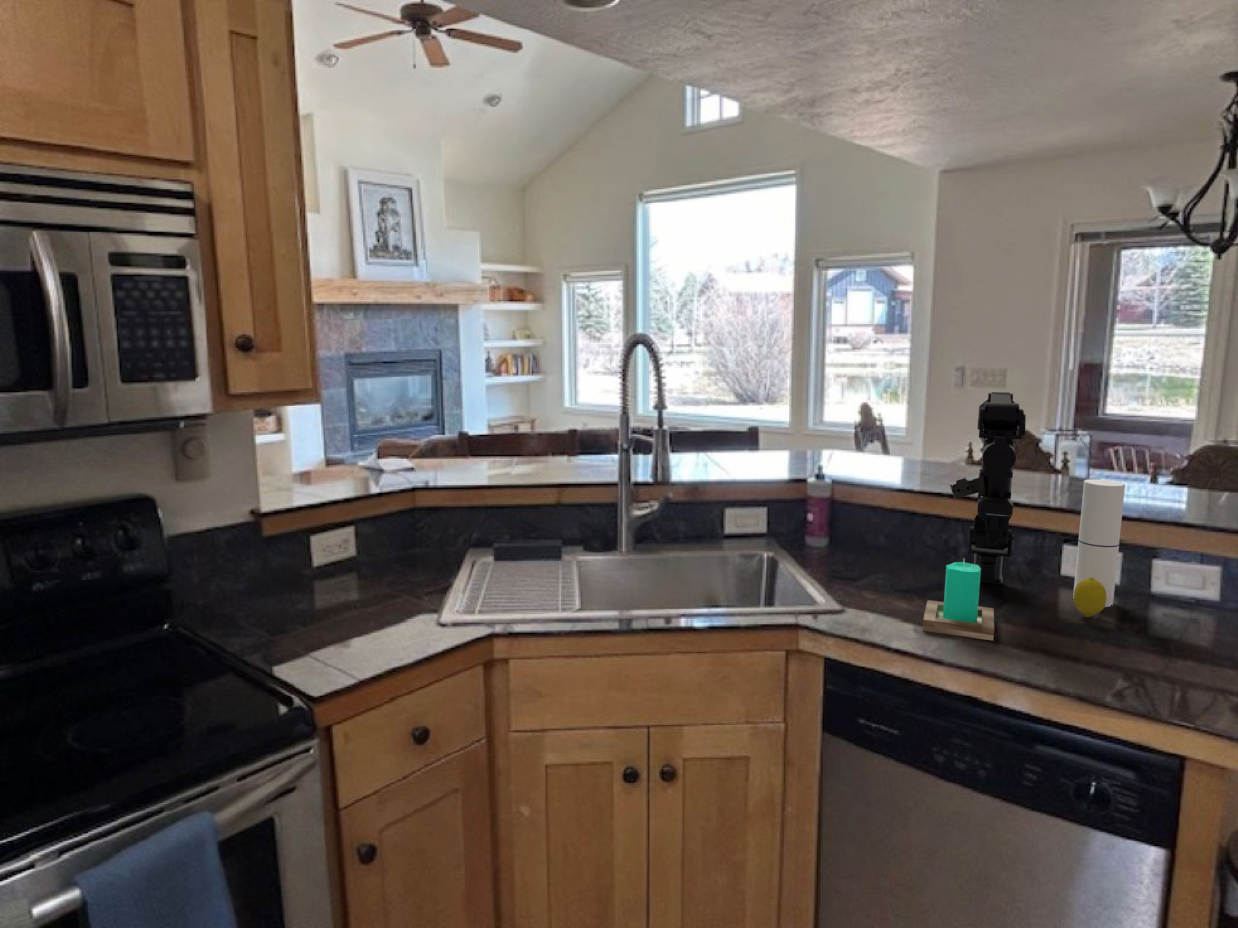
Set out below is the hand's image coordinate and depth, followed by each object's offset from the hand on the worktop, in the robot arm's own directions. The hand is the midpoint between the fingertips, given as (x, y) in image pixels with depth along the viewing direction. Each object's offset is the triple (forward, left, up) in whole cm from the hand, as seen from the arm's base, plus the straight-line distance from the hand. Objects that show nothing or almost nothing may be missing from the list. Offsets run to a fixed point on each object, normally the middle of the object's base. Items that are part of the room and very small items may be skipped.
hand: (991, 540), depth 165 cm
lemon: (+2, +18, -13) cm, 22 cm away
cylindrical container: (-9, +20, -13) cm, 26 cm away
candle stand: (+17, -5, -13) cm, 22 cm away
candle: (+17, -5, -12) cm, 21 cm away
